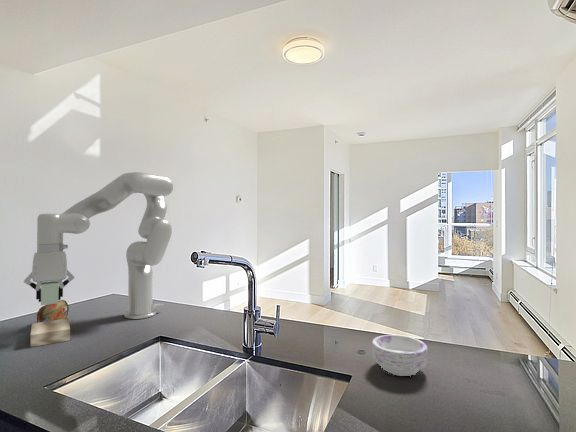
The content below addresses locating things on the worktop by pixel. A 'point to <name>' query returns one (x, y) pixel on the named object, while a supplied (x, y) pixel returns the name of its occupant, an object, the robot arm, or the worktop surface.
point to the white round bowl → (399, 354)
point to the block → (49, 292)
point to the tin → (53, 311)
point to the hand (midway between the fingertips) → (49, 299)
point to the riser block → (50, 332)
